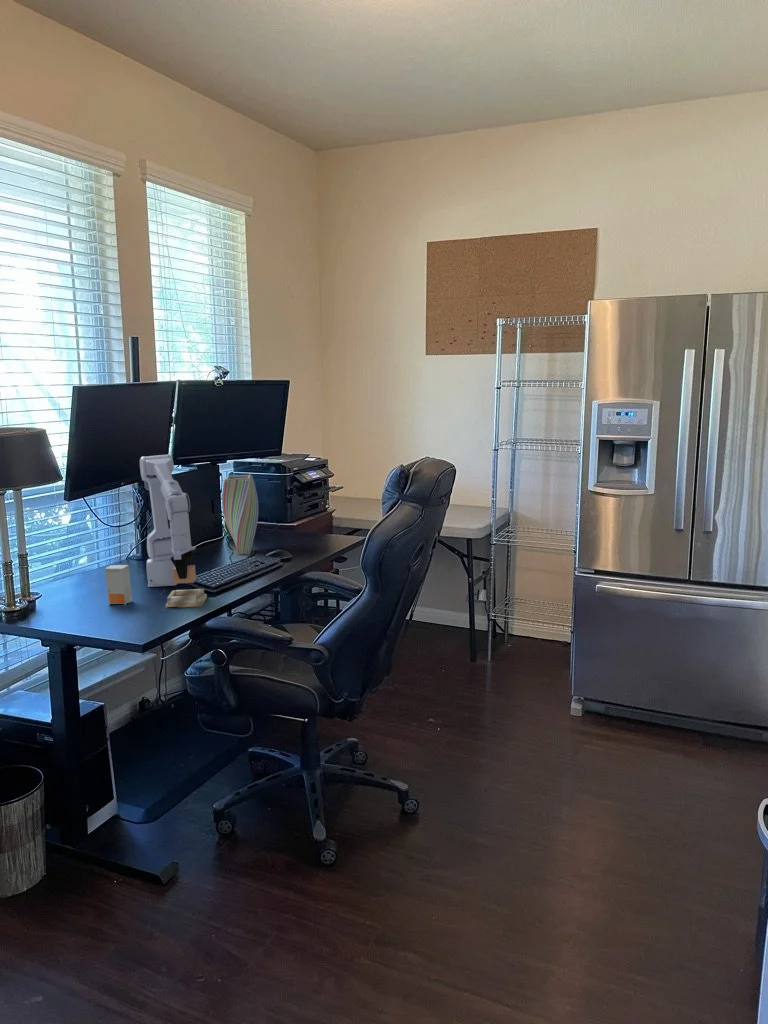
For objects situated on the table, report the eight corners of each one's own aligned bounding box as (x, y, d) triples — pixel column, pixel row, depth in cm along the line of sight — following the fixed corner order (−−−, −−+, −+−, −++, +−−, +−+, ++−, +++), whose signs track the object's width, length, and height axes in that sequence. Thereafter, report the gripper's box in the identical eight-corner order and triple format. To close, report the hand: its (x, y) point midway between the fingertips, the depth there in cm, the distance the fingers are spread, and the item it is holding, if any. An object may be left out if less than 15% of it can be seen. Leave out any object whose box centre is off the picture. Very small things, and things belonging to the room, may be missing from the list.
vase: (225, 558, 285) (218, 480, 279) (227, 549, 298) (221, 475, 292) (260, 555, 286) (255, 478, 280) (262, 547, 299) (256, 473, 293)
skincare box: (108, 605, 233) (104, 568, 230) (114, 601, 237) (110, 564, 234) (126, 605, 232) (122, 568, 229) (133, 601, 236) (129, 564, 233)
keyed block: (193, 582, 229) (192, 568, 229) (173, 583, 229) (172, 569, 228) (196, 578, 233) (194, 564, 232) (176, 579, 233) (175, 565, 232)
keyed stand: (165, 608, 228) (164, 598, 227) (171, 599, 237) (170, 589, 236) (202, 606, 228) (201, 596, 228) (206, 597, 237) (206, 588, 237)
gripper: (189, 538, 221) (193, 582, 224) (197, 527, 236) (201, 569, 238) (165, 539, 221) (169, 583, 224) (175, 528, 235) (179, 570, 238)
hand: (184, 576), depth 231 cm, fingers closed on keyed block, 4 cm apart
